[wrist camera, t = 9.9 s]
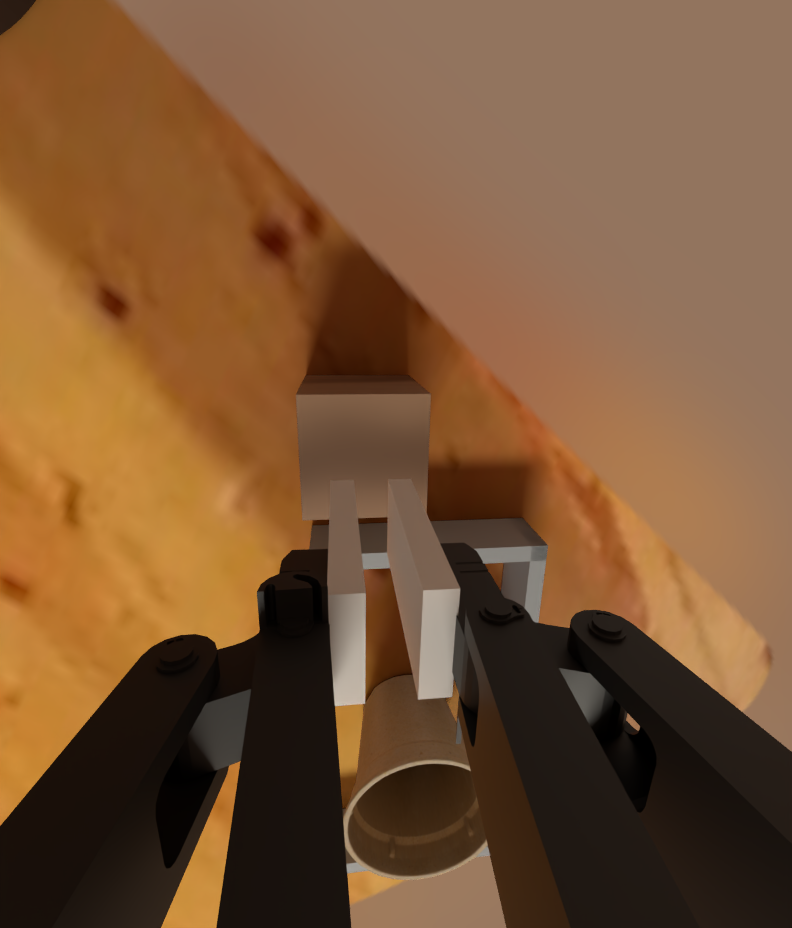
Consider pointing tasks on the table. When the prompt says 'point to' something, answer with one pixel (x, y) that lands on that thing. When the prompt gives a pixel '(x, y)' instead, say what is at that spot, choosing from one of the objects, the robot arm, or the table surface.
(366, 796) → the flower pot
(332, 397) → the walnut block
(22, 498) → the table surface
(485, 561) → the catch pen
